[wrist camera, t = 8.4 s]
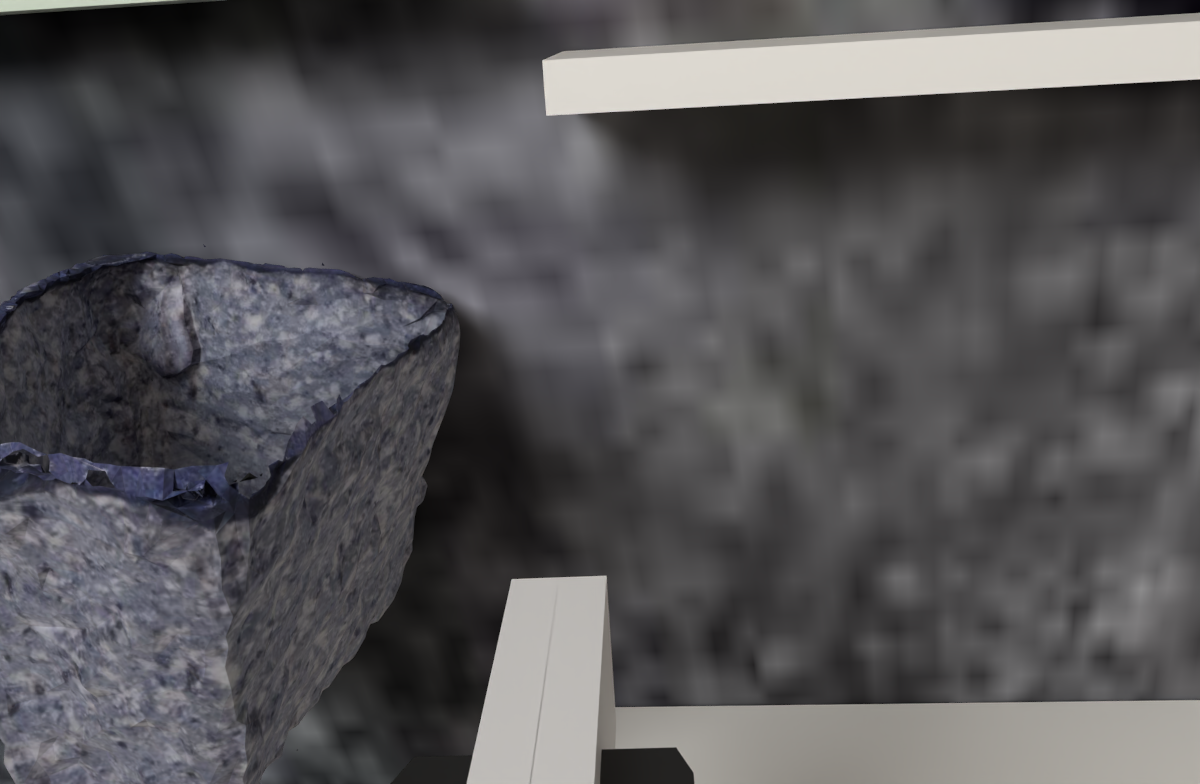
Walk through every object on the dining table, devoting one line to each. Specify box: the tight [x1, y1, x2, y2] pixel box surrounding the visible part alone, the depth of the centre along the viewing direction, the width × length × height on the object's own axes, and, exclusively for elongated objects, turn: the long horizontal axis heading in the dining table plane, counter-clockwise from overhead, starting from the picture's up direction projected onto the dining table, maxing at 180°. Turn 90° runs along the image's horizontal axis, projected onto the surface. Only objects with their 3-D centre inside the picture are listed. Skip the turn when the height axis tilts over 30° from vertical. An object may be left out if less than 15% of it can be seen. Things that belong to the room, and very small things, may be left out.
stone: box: [0, 246, 460, 784], centre depth 23 cm, size 12×10×10 cm
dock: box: [542, 13, 1200, 784], centre depth 25 cm, size 20×18×4 cm
